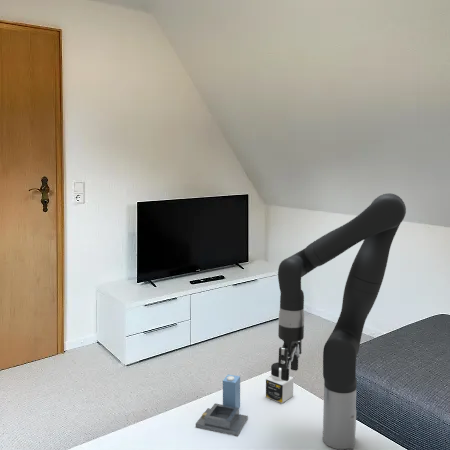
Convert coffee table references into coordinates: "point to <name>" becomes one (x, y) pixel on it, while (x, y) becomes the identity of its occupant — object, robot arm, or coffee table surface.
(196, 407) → the coffee table surface
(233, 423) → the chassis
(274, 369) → the medicine bottle
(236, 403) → the blue tall box
